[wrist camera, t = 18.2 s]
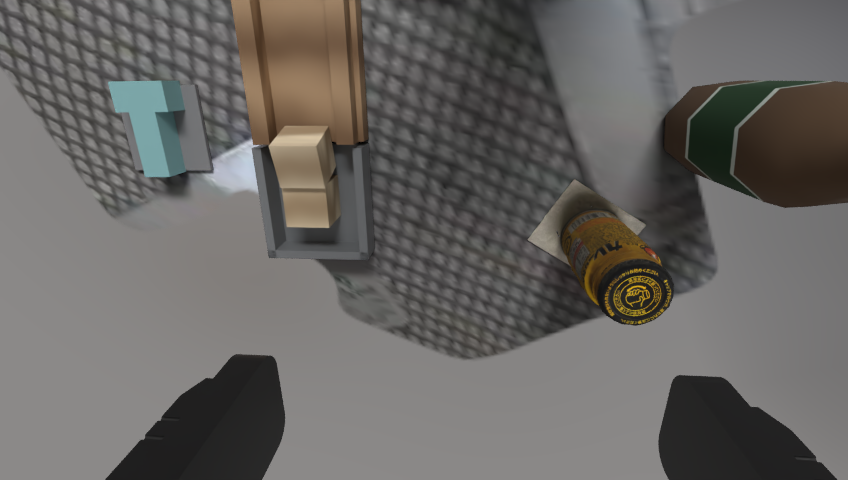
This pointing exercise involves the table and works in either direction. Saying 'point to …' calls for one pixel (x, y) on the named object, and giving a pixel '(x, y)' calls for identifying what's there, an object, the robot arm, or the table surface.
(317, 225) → the tan block
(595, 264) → the condiment
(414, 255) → the table surface
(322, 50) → the slot board
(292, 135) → the tan wooden cube
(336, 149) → the tray
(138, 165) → the mat
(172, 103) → the teal t-shaped block
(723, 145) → the beer bottle
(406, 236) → the table surface
